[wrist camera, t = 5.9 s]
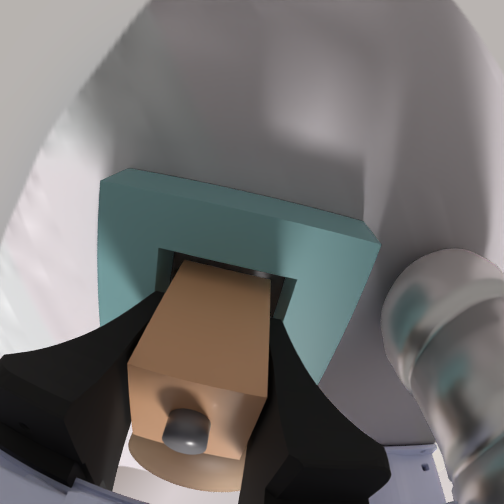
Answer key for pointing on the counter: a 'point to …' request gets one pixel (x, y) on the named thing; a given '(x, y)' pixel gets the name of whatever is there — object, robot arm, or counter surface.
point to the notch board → (233, 251)
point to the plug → (203, 362)
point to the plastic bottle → (454, 362)
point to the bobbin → (188, 466)
